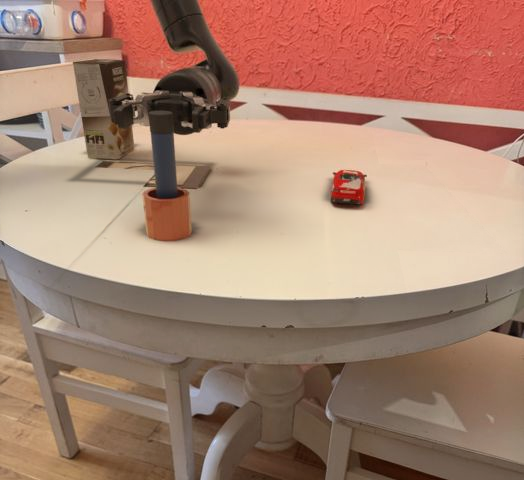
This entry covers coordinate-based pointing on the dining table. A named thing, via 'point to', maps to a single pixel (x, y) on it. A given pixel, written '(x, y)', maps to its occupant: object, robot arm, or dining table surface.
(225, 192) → the dining table surface
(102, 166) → the sketch board
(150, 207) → the pen pot
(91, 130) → the coffee box
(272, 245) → the dining table surface
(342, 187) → the race car
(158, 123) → the marker
